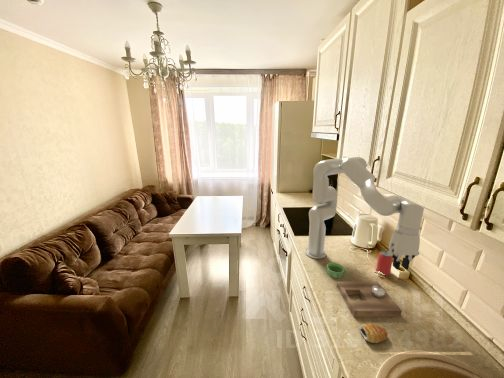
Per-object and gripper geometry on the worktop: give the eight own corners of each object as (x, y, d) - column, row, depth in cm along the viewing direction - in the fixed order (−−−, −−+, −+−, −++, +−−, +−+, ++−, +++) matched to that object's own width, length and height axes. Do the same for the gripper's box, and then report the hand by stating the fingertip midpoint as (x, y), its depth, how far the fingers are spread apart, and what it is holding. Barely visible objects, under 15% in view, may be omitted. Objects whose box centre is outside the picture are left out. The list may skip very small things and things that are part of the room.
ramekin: (326, 267, 122) (326, 261, 121) (343, 271, 119) (344, 264, 118) (325, 277, 114) (326, 270, 113) (344, 281, 111) (344, 274, 110)
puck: (369, 290, 100) (369, 285, 99) (379, 290, 100) (380, 285, 99) (375, 298, 95) (376, 293, 95) (386, 298, 95) (387, 293, 95)
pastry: (379, 327, 85) (380, 319, 84) (392, 342, 78) (393, 334, 77) (357, 329, 84) (358, 321, 83) (368, 345, 77) (369, 336, 76)
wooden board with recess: (336, 286, 107) (337, 281, 106) (376, 286, 107) (377, 281, 107) (353, 316, 90) (354, 310, 89) (400, 316, 90) (401, 310, 89)
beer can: (387, 270, 120) (391, 251, 117) (391, 277, 114) (395, 257, 111) (374, 268, 122) (377, 249, 119) (377, 275, 116) (381, 255, 113)
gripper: (420, 225, 93) (412, 262, 98) (382, 225, 93) (376, 262, 98) (434, 233, 86) (425, 273, 91) (394, 233, 86) (386, 273, 91)
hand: (400, 267), depth 94 cm, fingers open, 3 cm apart
